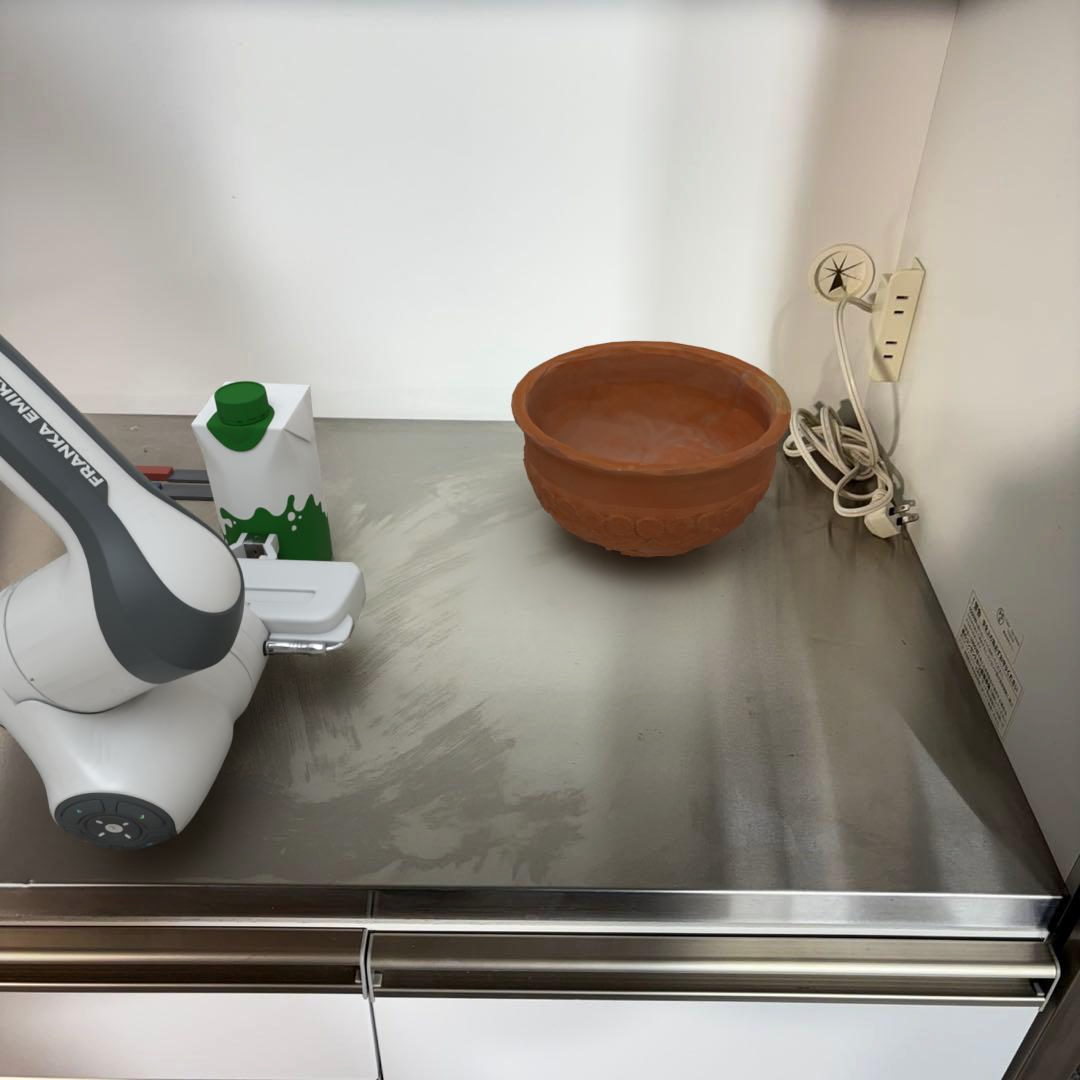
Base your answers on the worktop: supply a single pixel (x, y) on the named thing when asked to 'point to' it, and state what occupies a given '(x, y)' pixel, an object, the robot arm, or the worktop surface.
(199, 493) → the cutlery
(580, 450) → the bowl
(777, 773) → the worktop surface
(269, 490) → the milk carton
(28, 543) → the worktop surface
